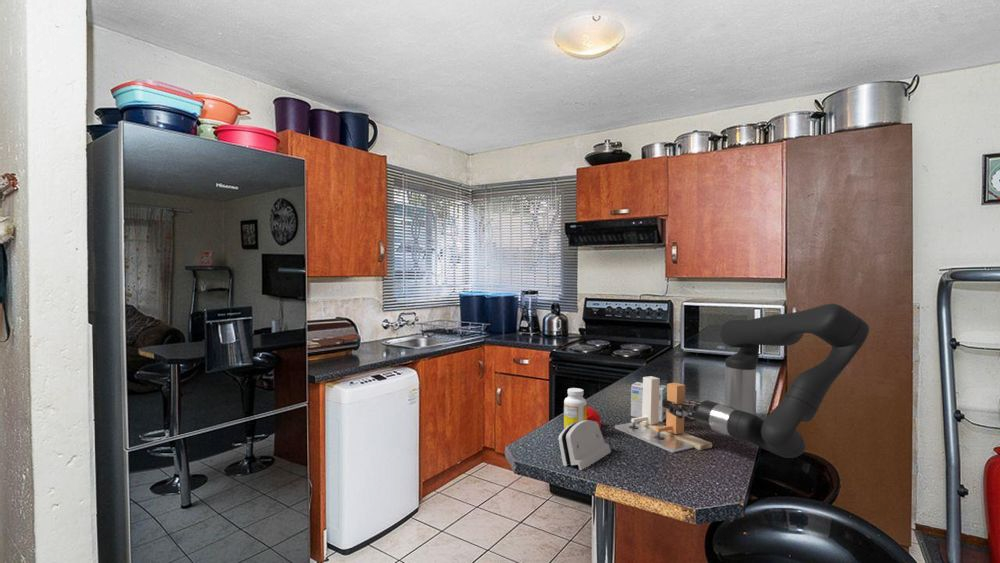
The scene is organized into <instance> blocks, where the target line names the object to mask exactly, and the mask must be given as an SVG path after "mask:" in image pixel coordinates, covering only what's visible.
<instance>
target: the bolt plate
mask: <svg viewBox="0 0 1000 563" xmlns="http://www.w3.org/2000/svg"><path fill="white" fill-rule="evenodd" d="M614 429H615V430H618V431H621V432H623V433H625V434H628V435H630V436H632V437H634V438H637V439H639V440H642V441H643V442H646V443H648V444H651V445H653V446H656V447H658V448H661V449H663V450H665V451H667V452H670V453H672V454H674V453H678V452H681V451H686V450H690V449H693V445H691V444H688V443H686V442H683V441H681V440H678V439H676V438H673V437H670V436H668V435H665V434H663V433H660V437H658V436H657V432H656V431H655V430H653V429H650V428H647V427H645V426H642V425H640V424H639V423H638V422H635V427H633V426H632V422H627V423H621V424H616V425H614Z"/></svg>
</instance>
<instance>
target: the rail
mask: <svg viewBox="0 0 1000 563" xmlns="http://www.w3.org/2000/svg"><path fill="white" fill-rule="evenodd" d="M638 424H640V425H642V426H645V427H647V428H650V429H653V430H655V431H656V428H658V427H663V426H666V425H664V424H661V423H660V422H658V423H657V424H652V425H650V424H647V423H645V422H642V421H641V422H638ZM660 433H663V434H665V435H668V436H670V437H673V438H676V439H678V440H681V441H683V442H686V443H688V444H691V445H693V448H694V449H696V450H698V451H703V450H707V449H711V448H713V443H712V442H710V441H708V440H706V439H702V438H700V437H697V436H694V435H691V434H688V433H687V432H684V433H680V434H674V433H671V432H668V431H663V432H660ZM693 448H692V449H693Z"/></svg>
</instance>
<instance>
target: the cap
mask: <svg viewBox="0 0 1000 563" xmlns="http://www.w3.org/2000/svg"><path fill="white" fill-rule="evenodd" d="M586 420H589V421H596V422H597V423H598V425H599V428H600V429H601V428H602V424H601V416H600V414H599V413H598V411H596V410H595V409H594V408H592V407H590V406H587V408H586Z"/></svg>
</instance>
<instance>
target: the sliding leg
mask: <svg viewBox="0 0 1000 563" xmlns="http://www.w3.org/2000/svg"><path fill="white" fill-rule="evenodd" d="M666 386H667V400H668V401H672V402H675V403H682V402H683V403H685V400H686V384H682V383H678V382H670V383H667V384H666ZM678 407H679V406H678ZM683 411H684V406H683ZM665 420H666V421H665V424H666V425H665V426H663V427H658V428H656V432H657V436H658V437H660V432H663V431H668V432H671V433H674V434H680V433H685V416H682V418H678V417H676V416H675V415H673V414H671V413H669V409H668V408H667V415H666V418H665Z"/></svg>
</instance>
